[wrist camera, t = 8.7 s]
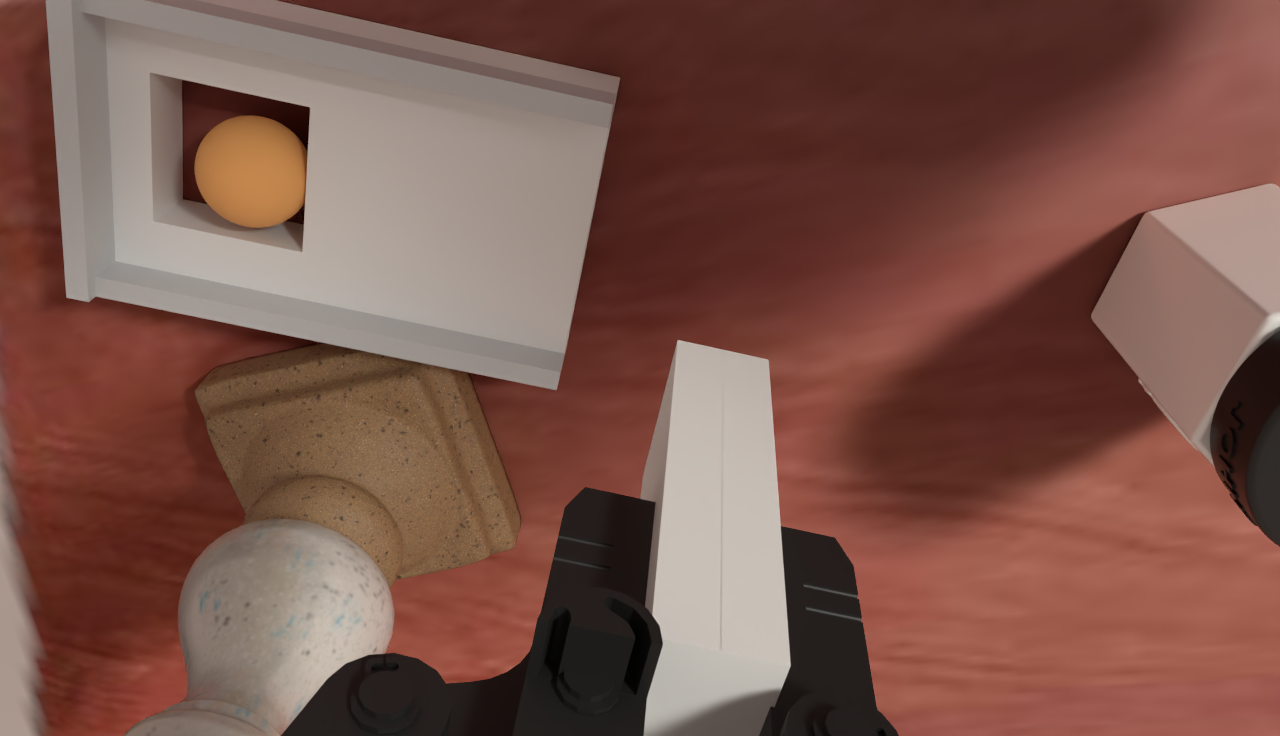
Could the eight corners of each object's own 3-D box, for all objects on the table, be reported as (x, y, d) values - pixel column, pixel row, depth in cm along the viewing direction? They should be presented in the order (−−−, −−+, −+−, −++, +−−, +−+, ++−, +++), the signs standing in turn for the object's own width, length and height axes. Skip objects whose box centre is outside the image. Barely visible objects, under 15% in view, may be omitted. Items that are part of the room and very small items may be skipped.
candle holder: (526, 525, 46) (391, 1111, 25) (306, 565, 48) (7, 1145, 27) (447, 314, 41) (198, 824, 20) (205, 367, 43) (-258, 887, 22)
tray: (116, -36, 35) (44, -18, 31) (620, 77, 36) (612, 108, 32) (127, 251, 40) (66, 297, 36) (567, 342, 42) (555, 396, 38)
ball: (170, 105, 35) (250, 142, 33) (263, 97, 38) (340, 129, 37) (169, 214, 37) (245, 253, 35) (258, 197, 40) (331, 232, 38)
